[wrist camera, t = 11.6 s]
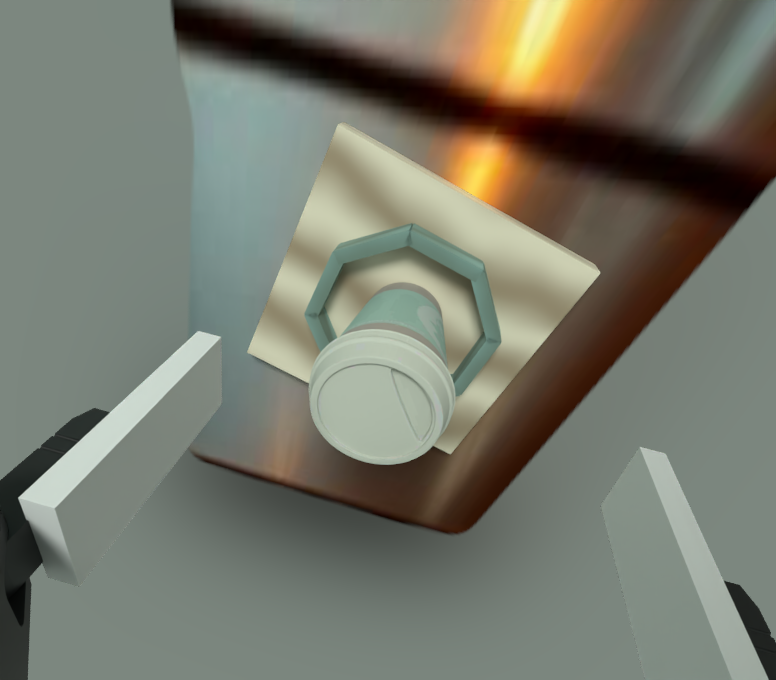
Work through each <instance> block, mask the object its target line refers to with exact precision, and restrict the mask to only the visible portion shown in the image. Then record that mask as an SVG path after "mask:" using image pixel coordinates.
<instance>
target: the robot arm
mask: <svg viewBox="0 0 776 680" xmlns="http://www.w3.org/2000/svg"><path fill="white" fill-rule="evenodd" d="M221 404H222V365H221V337H219V336H215V335H211V334H207V333H203V332H200V331H198V332H197V333H196V334H194V335H193V336H192V337H191V338H190V339H189V340H188V341H187V342H186V343H185V344H184V345H183V346H181V347H180V348H179V349H178V350H177V351H176V352H175V353H174V354H173V355H172V356H171V357H170V358H169V359H167V360H166V361H165V362H164V363H163V364H162V365H161V366H160V367H159V368H158V369H157V370H156V371H154V372H153V373H152V374H151V375H150V376H149V377H148V378H147V379H146V380H145V381H144V382H143V383H142V384H141V385H139V386H138V387H137V388H136V389H135V390H134V391H133V392H132V393H131V394H130V395H129V396H128V397H127V398H125V399H124V400H123V401H122V402H121V403H120V404H119V405H118V406H117V407H116V408H115V409H114V410H112V411H111V412H106V411H103V410H99V409H96V408H94V409H92V410H89V411H87V412H85V413H83V414H82V415H80V416H77V417H75V418H73V419H71V420H70V421H69V422H68V423H67V424H66V425H64V426H63V427H62V428H61V429H60V430H59V431H57V432H56V433H55V436H54V437H53V436H52V437H50V438H49V439H48V440H47V441H46V442H45V443H43V444H42V445H41V448H40V449H37V450H35V451H34V452H33V453H32V454H31V455H29V456H28V457H27V458H26V459H25V460H24V461H22V462H21V463H20V464H19V465H18V466H17V467H15V468H14V469H13V470H12V471H11V472H10V473H8V474H7V475H6V476H5V477H4V478H3V479H1V480H0V680H28V654H29V628H30V604H31V582H30V578H29V577H30V576H31V575H32V574H33V572H34V571H35V570H36V569H37V568H38V567H39V566H40V565H41V563H43V566H44V568H45V571H46V574H47V576H48V577H49V578H52V579H55V580H59V581H62V582H65V583H69V584H72V585H75V586H78V587H79V586H80V585H81V584H82V583H83V581H84V580H85V579H86V577H87V576H88V575H89V574H90V572H91V571H92V570H93V568H94V567H95V566H96V565H97V563H98V562H99V561H100V559H101V558H102V557H103V555H104V554H105V553H106V552H107V550H108V549H109V548H110V547H111V545H112V544H113V543H114V542H115V540H116V539H117V538H118V536H119V535H120V534H121V532H122V531H123V530H124V529H125V527H126V526H127V525H128V524H129V522H130V521H131V520H132V518H133V517H134V516H135V515H136V513H137V512H138V511H139V509H140V508H141V507H142V506H143V504H144V503H145V502H146V500H147V499H148V498H149V496H150V495H151V494H152V493H153V491H154V490H155V489H156V488H157V486H158V485H159V484H160V482H161V481H162V480H163V479H164V477H165V476H166V475H167V474H168V472H169V471H170V470H171V468H172V467H173V466H174V465H175V463H176V462H177V461H178V459H179V458H180V457H181V455H182V454H183V453H184V452H185V450H186V449H187V448H188V447H189V445H190V444H191V443H192V441H193V440H194V439H195V438H196V436H197V435H198V434H199V432H200V431H201V430H202V429H203V427H204V426H205V425H206V423H207V422H208V421H209V420H210V418H211V417H212V416H213V414H214V413H215V412H216V411H217V409H218V408H219V407H220V406H221ZM600 507H601V511H602V514H603V518H604V522H605V526H606V530H607V534H608V538H609V542H610V546H611V550H612V554H613V557H614V561H615V565H616V569H617V573H618V577H619V581H620V585H621V589H622V593H623V597H624V600H625V605H626V608H627V612H628V616H629V620H630V624H631V628H632V632H633V636H634V640H635V644H636V648H637V652H638V655H639V659H640V663H641V667H642V671H643V675H644V679H645V680H776V642H775V640H774V638H772V637H771V636H770V634H771V632H770V630H769V628H768V626H767V624H766V622H765V620H764V618H763V616H762V614H761V612H760V610H759V608H758V607H757V606H756V605H755V603H754V602H753V601H752V600H751V599H750V597H749V596H748V595H747V594H746V592H745V591H744V590H743V589H742V587H741V586H740V585H737V584H734V583H730V582H726V581H723V578H722V576H721V574H720V572H719V570H718V567H717V565H716V563H715V561H714V559H713V557H712V554H711V552H710V550H709V548H708V546H707V543H706V541H705V539H704V537H703V535H702V532H701V530H700V528H699V526H698V524H697V522H696V519H695V517H694V515H693V513H692V511H691V508H690V506H689V504H688V502H687V500H686V498H685V495H684V493H683V491H682V489H681V486H680V484H679V482H678V480H677V478H676V475H675V473H674V472H673V469H672V467H671V465H670V462H669V460H668V458H667V456H666V454H665V453H661V452H658V451H654V450H650V449H646V448H642V447H639V449H638V450H637V452H636V453H635V455H634V456H633V458H632V459H631V461H630V462H629V464H628V465H627V467H626V468H625V470H624V471H623V473H622V474H621V476H620V477H619V479H618V481H617V482H616V483H615V485H614V486H613V488H612V489H611V491H610V492H609V494H608V496H607V497H606V498H605V500H604V502H603V503H602V504H601V506H600Z"/></svg>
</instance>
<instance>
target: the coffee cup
mask: <svg viewBox="0 0 776 680" xmlns="http://www.w3.org/2000/svg"><path fill="white" fill-rule="evenodd" d="M309 397H310V410H311V415H312V418H313V421H314V423H315V425H316V427H317V428H318V430H319V432H320V433H321V434H322V436H323V437H324V438H325V439H326V440H327V441H328V442H329V443H330V444H331V445H332V446H334V447H335V448H336V449H338V450H339V451H341V452H342V453H344V454H346V455H348V456H350V457H352V458H354V459H357V460H360V461H363V462H367V463H372V464H381V465H391V464H399V463H404V462H408V461H411V460H413V459H416V458H418V457H419V456H421V455H423V454H424V453H426V452H427V451H428V450H429V449H430V448H431V447H432V446H433V445H434V444H435V442H436V441H437V439H438V438H439V437H440V436H441V435H442V434H443V432H444V431H445V429H446V428H447V426H448V424H449V422H450V419H451V416H452V414H453V411H454V407H455V387H454V383H453V380H452V377H451V375H450V373H449V371H448V366H447V356H446V346H445V337H444V327H443V319H442V312H441V308H440V305H439V303H438V302H437V300H436V299H435V297H434V296H433V295H432V294H431V293H430V292H429V291H427V290H426V289H424V288H423V287H421V286H418V285H416V284H412V283H407V282H398V283H392V284H389V285H387V286H384V287H383V288H381V289H380V290H378V291H377V292H376V293H375V294H374V296H373V297H372V298H371V299H370V300H369V301H368V303H367V304H366V305H365V306H364V307H363V309H362V310H361V311H360V312H359V314H358V315H357V316H356V317H355V318H354V320H353V321H352V322H351V323H350V325H349V326H348V327H347V328H346V329H345V331H344V332H343V333H342V334H341V336H340V337H338V338H337V339H335V340H333V341H332V342H331V343H329V344H328V345H327V346H326V347H325V348H324V349H323V350H322V351H321V352H320V354H319V355H318V357H317V358H316V360H315V362H314V365H313V367H312V371H311V376H310V380H309Z"/></svg>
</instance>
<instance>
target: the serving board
mask: <svg viewBox="0 0 776 680" xmlns="http://www.w3.org/2000/svg"><path fill="white" fill-rule="evenodd" d="M599 274H600V271H599V270H598V268H597V267H596V265H595V264H593V263H591V262H590V261H588V260H586V259H584V258H583V257H581V256H579V255H577V254H575V253H574V252H572V251H570V250H568V249H567V248H565V247H563V246H561V245H560V244H558V243H556V242H554V241H553V240H551V239H549V238H547V237H546V236H544V235H542V234H540V233H538V232H537V231H535V230H533V229H531V228H530V227H528V226H526V225H524V224H523V223H521V222H519V221H517V220H516V219H514V218H512V217H510V216H509V215H507V214H505V213H503V212H502V211H500V210H498V209H496V208H494V207H493V206H491V205H489V204H487V203H486V202H484V201H482V200H480V199H479V198H477V197H475V196H473V195H472V194H470V193H468V192H466V191H465V190H463V189H461V188H459V187H458V186H456V185H454V184H452V183H450V182H449V181H447V180H445V179H443V178H442V177H440V176H438V175H436V174H435V173H433V172H431V171H429V170H428V169H426V168H424V167H422V166H421V165H419V164H417V163H415V162H413V161H412V160H410V159H408V158H406V157H405V156H403V155H401V154H399V153H398V152H396V151H394V150H392V149H391V148H389V147H387V146H385V145H384V144H382V143H380V142H378V141H377V140H375V139H373V138H371V137H369V136H368V135H366V134H364V133H362V132H361V131H359V130H357V129H355V128H354V127H352V126H350V125H348V124H347V123H345V122H343V123H340V124H338V126H337V128H336V131H335V133H334V136H333V138H332V141H331V143H330V146H329V148H328V151H327V153H326V156H325V158H324V161H323V163H322V166H321V168H320V171H319V173H318V176H317V178H316V181H315V183H314V186H313V188H312V191H311V193H310V196H309V198H308V201H307V203H306V206H305V208H304V211H303V213H302V216H301V219H300V221H299V224H298V226H297V229H296V231H295V234H294V236H293V239H292V241H291V244H290V246H289V249H288V251H287V254H286V256H285V259H284V261H283V264H282V266H281V269H280V271H279V274H278V276H277V279H276V281H275V284H274V286H273V289H272V291H271V294H270V296H269V299H268V301H267V304H266V306H265V309H264V311H263V314H262V316H261V319H260V321H259V324H258V326H257V329H256V331H255V334H254V336H253V339H252V341H251V344H250V346H249V349H248V351H247V353H249V354H251V355H253V356H255V357H257V358H259V359H261V360H263V361H265V362H267V363H269V364H271V365H273V366H275V367H277V368H279V369H281V370H283V371H285V372H287V373H289V374H291V375H293V376H295V377H297V378H299V379H301V380H303V381H305V382H307V383H309V380H310V376H311V371H312V367H313V365H314V362H315V360H316V358H317V357H318V355H319V354H320V352H321V351H322V350H323V349H324V348H325V347H326V346H327V345H328V344H329V343H331V342H332V341H333V340H335V339H337V338H338V337H340V336H341V334H342V333H343V332H344V331H345V329H346V328H347V327H348V326H349V325H350V323H351V322H352V321H353V320H354V318H355V317H356V316H357V315H358V314H359V312H360V311H361V310H362V309H363V307H364V306H365V305H366V304H367V303H368V301H369V300H370V299H371V298H372V297H373V296H374V294H375V293H376V292H377V291H378V290H380V289H381V288H383V287H384V286H387V285H389V284H392V283H398V282H407V283H412V284H416V285H418V286H421V287H423V288H424V289H426V290H427V291H429V292H430V293H431V294H432V295H433V296H434V297H435V299H436V300H437V302H438V303H439V305H440V308H441V312H442V319H443V327H444V337H445V346H446V356H447V366H448V371H449V373H450V375H451V377H452V380H453V383H454V387H455V407H454V411H453V414H452V416H451V419H450V422H449V424H448V426H447V428H446V429H445V431H444V432H443V434H442V435H441V436H440V437H439V438H438V439H437V441H436V442H435V444H434V445H433V446H435V447H437V448H439V449H441V450H443V451H445V452H447V453H449V454H451V453H452V452H453V451H454V450H455V448H456V447H457V446H458V445H459V443H460V442H461V441H462V440H463V439H464V437H465V436H466V435H467V434H468V433H469V431H470V430H471V429H472V428H473V427H474V425H475V424H476V423H477V422H478V421H479V419H480V418H481V417H482V416H483V414H484V413H485V412H486V411H487V410H488V408H489V407H490V406H491V405H492V404H493V402H494V401H495V400H496V399H497V398H498V396H499V395H500V394H501V393H502V392H503V390H504V389H505V388H506V387H507V385H508V384H509V383H510V382H511V381H512V379H513V378H514V377H515V376H516V375H517V373H518V372H519V371H520V370H521V369H522V367H523V366H524V365H525V364H526V363H527V361H528V360H529V359H530V358H531V356H532V355H533V354H534V353H535V352H536V350H537V349H538V348H539V347H540V346H541V344H542V343H543V342H544V341H545V340H546V338H547V337H548V336H549V335H550V334H551V332H552V331H553V330H554V329H555V327H556V326H557V325H558V324H559V323H560V321H561V320H562V319H563V318H564V317H565V315H566V314H567V313H568V312H569V311H570V309H571V308H572V307H573V306H574V305H575V303H576V302H577V301H578V300H579V298H580V297H581V296H582V295H583V294H584V292H585V291H586V290H587V289H588V288H589V286H590V285H591V284H592V283H593V282H594V280H595V279H596V278H597V277H598V275H599Z"/></svg>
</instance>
